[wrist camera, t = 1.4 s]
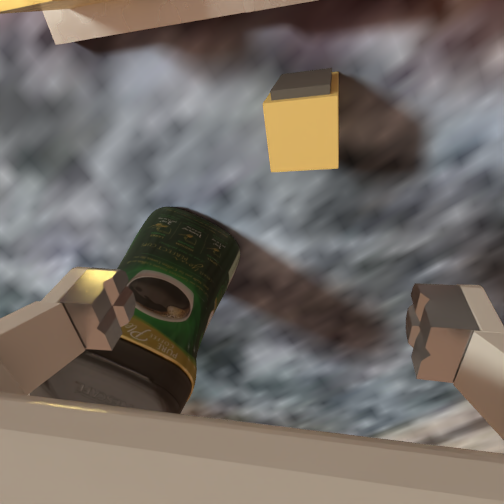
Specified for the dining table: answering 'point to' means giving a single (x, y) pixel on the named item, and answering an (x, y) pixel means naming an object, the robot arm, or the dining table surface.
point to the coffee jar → (157, 318)
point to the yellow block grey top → (303, 121)
